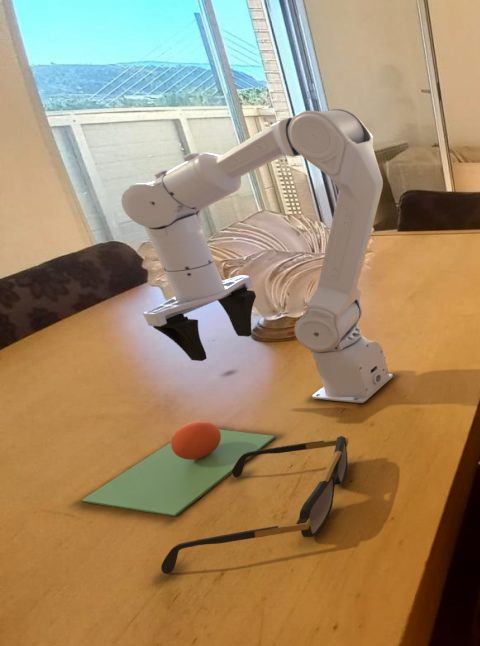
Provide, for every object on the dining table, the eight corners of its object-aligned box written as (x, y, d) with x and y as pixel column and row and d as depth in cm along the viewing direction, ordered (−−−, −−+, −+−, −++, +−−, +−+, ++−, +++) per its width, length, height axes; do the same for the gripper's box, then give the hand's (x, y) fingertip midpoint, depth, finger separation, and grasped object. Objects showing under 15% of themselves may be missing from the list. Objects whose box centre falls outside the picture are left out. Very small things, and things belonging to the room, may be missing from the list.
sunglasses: (235, 476, 61) (221, 446, 59) (362, 456, 64) (352, 427, 62) (164, 575, 48) (143, 540, 46) (325, 545, 51) (312, 511, 49)
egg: (215, 466, 64) (237, 430, 67) (182, 461, 60) (207, 422, 62) (186, 456, 65) (208, 421, 67) (151, 450, 61) (177, 413, 63)
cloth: (275, 437, 68) (274, 435, 68) (175, 516, 55) (174, 514, 55) (195, 428, 71) (194, 426, 70) (82, 501, 58) (81, 500, 58)
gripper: (214, 249, 76) (243, 324, 81) (110, 282, 63) (152, 369, 68) (251, 250, 75) (278, 326, 80) (152, 284, 62) (192, 373, 67)
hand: (223, 346), depth 74 cm, fingers open, 7 cm apart
